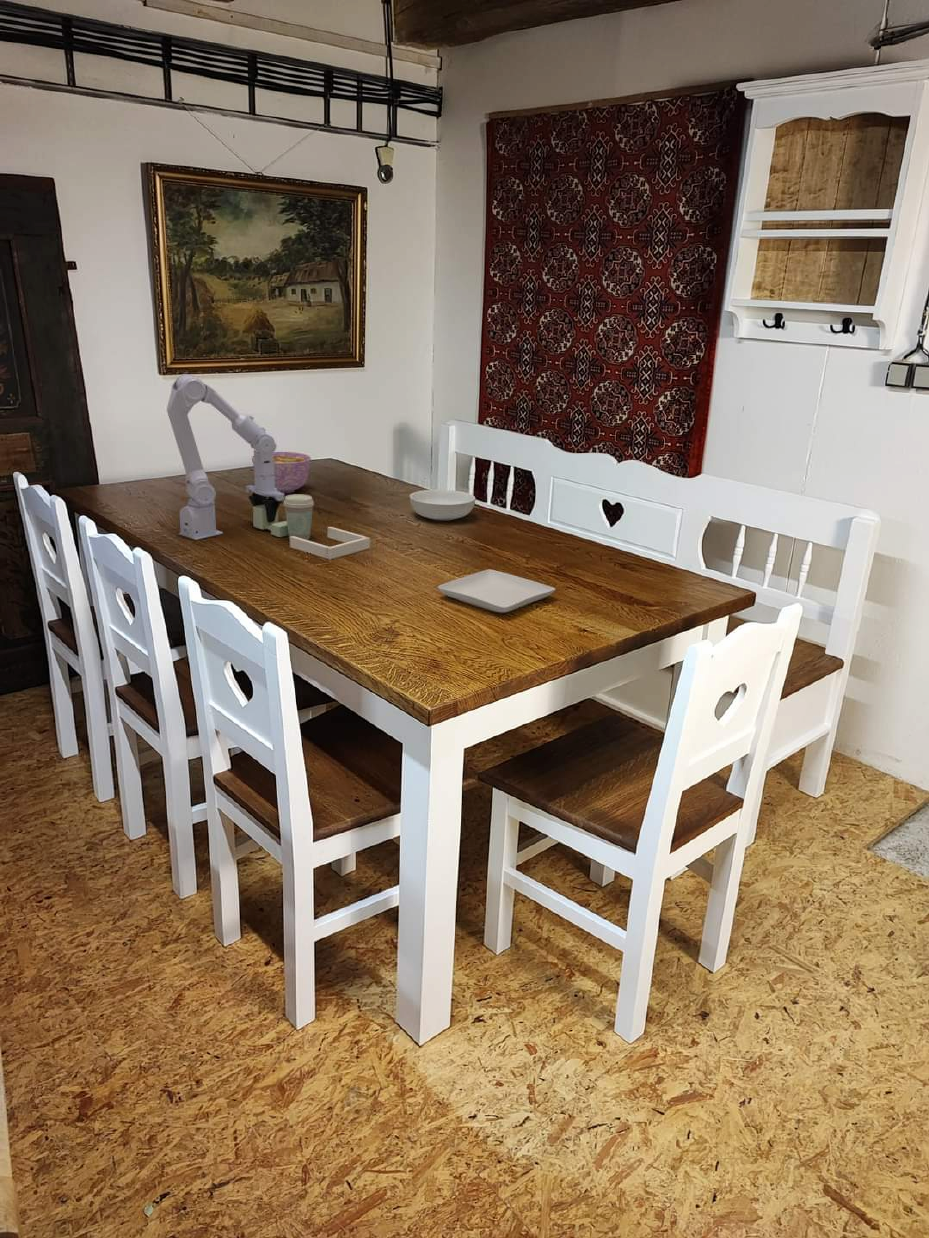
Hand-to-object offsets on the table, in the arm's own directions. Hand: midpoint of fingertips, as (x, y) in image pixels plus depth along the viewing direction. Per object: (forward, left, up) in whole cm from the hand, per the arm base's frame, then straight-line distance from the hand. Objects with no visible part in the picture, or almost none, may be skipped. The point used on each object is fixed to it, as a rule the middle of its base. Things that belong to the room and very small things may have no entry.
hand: (266, 520), depth 267 cm
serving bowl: (+49, -27, -3) cm, 56 cm away
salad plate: (0, -85, -3) cm, 85 cm away
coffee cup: (0, -15, -3) cm, 15 cm away
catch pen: (0, -27, -2) cm, 27 cm away
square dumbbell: (0, -4, -2) cm, 5 cm away
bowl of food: (+35, +33, -3) cm, 48 cm away
